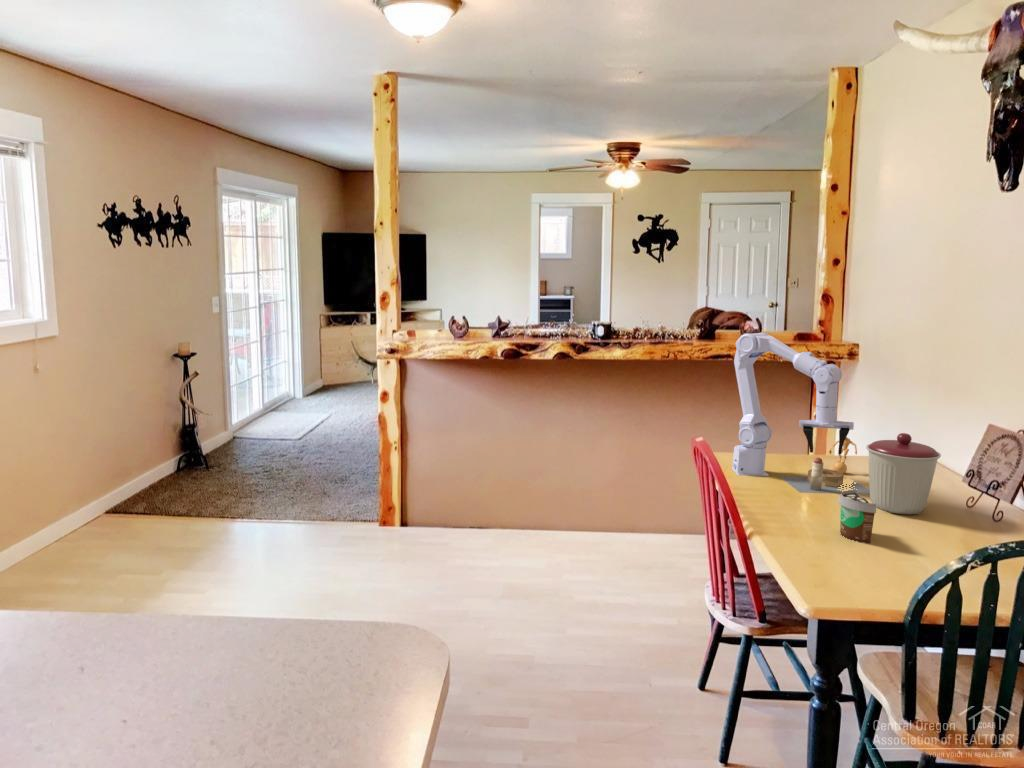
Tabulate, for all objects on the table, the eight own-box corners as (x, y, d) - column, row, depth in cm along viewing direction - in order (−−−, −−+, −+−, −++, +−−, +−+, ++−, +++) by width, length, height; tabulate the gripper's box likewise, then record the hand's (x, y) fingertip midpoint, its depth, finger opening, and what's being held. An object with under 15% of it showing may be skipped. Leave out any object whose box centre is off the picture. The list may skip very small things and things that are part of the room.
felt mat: (799, 493, 227) (799, 492, 227) (779, 477, 244) (779, 476, 244) (875, 495, 227) (875, 494, 227) (849, 479, 244) (850, 478, 244)
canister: (868, 495, 228) (875, 423, 224) (938, 507, 217) (947, 433, 214) (853, 510, 213) (861, 433, 210) (928, 524, 203) (937, 444, 199)
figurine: (823, 472, 252) (827, 435, 250) (832, 469, 256) (836, 433, 254) (849, 478, 246) (853, 440, 244) (858, 475, 250) (861, 438, 248)
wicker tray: (815, 486, 234) (816, 476, 234) (804, 477, 243) (805, 468, 243) (846, 486, 234) (847, 477, 234) (833, 478, 243) (834, 469, 243)
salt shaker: (812, 490, 229) (815, 458, 228) (808, 487, 232) (811, 456, 231) (822, 490, 229) (825, 459, 228) (818, 487, 232) (821, 456, 231)
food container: (827, 527, 198) (830, 488, 197) (852, 528, 198) (855, 489, 197) (846, 544, 186) (850, 503, 185) (872, 545, 186) (876, 504, 184)
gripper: (798, 407, 228) (797, 453, 229) (853, 409, 221) (852, 456, 223) (801, 404, 234) (800, 449, 235) (854, 406, 227) (853, 452, 229)
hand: (825, 452), depth 229 cm, fingers open, 7 cm apart
